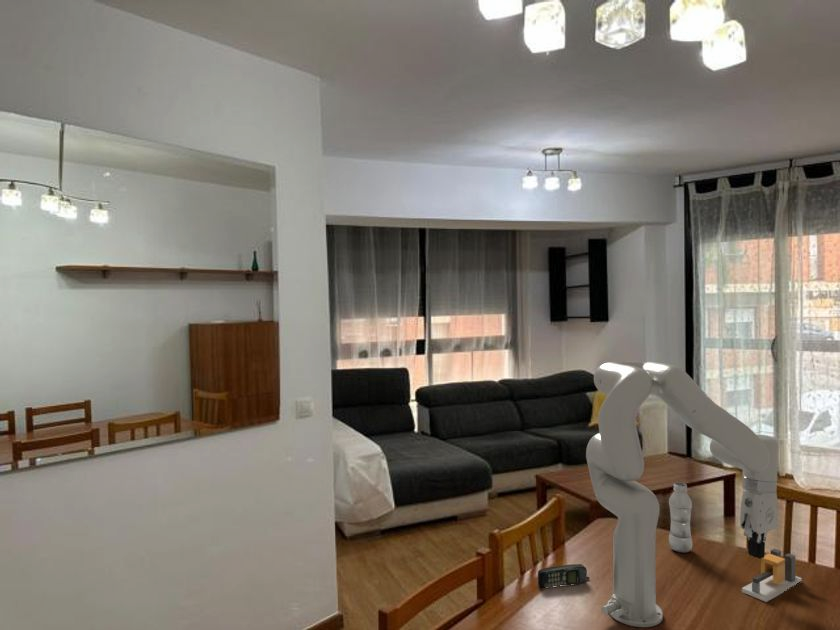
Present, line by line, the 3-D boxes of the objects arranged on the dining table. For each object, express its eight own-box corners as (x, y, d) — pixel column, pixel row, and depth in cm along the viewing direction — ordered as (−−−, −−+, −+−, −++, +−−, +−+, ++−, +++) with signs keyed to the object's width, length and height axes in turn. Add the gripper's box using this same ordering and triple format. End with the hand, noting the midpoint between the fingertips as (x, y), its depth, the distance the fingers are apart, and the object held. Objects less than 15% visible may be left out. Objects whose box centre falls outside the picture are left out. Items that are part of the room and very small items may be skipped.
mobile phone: (540, 573, 149) (592, 564, 152) (535, 568, 152) (586, 559, 155) (541, 591, 149) (593, 582, 153) (536, 586, 152) (587, 577, 156)
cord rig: (766, 602, 142) (766, 572, 141) (741, 591, 147) (741, 563, 146) (801, 581, 151) (801, 553, 151) (777, 572, 156) (777, 545, 156)
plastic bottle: (687, 545, 174) (687, 480, 173) (696, 555, 167) (695, 488, 167) (665, 545, 175) (665, 480, 174) (673, 555, 168) (672, 487, 167)
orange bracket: (777, 584, 146) (777, 563, 146) (760, 577, 150) (760, 557, 150) (784, 579, 148) (785, 558, 148) (768, 573, 152) (768, 553, 152)
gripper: (759, 493, 138) (755, 568, 138) (789, 484, 146) (786, 555, 146) (728, 484, 144) (725, 556, 144) (759, 476, 152) (756, 544, 152)
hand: (756, 556), depth 145 cm, fingers closed
